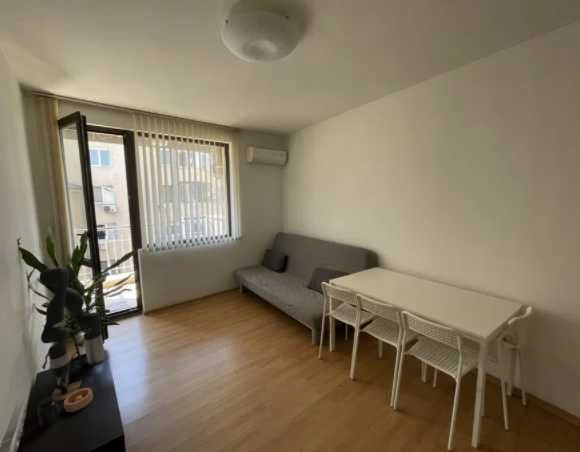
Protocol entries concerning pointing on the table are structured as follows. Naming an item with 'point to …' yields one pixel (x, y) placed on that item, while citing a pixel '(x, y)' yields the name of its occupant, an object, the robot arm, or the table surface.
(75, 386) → the lid
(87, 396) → the bowl
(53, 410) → the supplement bottle
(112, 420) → the table surface
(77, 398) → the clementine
